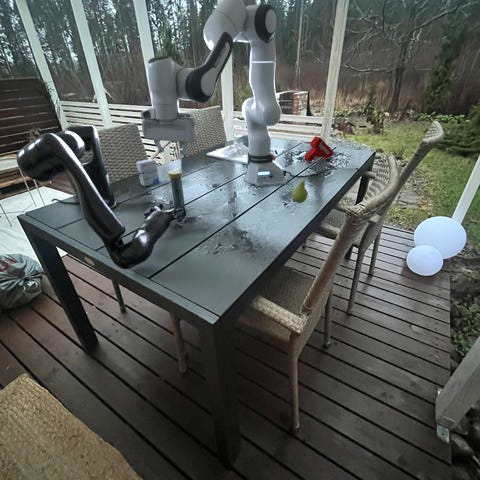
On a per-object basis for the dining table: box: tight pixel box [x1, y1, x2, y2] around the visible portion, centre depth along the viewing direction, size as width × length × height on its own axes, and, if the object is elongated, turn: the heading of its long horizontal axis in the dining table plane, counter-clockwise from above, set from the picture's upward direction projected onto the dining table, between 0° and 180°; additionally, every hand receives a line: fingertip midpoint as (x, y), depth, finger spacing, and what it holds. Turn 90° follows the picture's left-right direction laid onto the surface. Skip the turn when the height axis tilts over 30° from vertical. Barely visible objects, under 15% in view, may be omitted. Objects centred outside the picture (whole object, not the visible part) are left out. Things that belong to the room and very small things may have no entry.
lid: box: [167, 169, 183, 179], centre depth 105 cm, size 5×5×2 cm
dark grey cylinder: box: [169, 176, 186, 213], centre depth 110 cm, size 4×4×17 cm
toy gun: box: [303, 135, 335, 164], centre depth 171 cm, size 18×4×15 cm
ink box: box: [135, 158, 160, 187], centre depth 139 cm, size 8×5×12 cm, turn 135°
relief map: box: [206, 141, 272, 165], centre depth 185 cm, size 27×35×5 cm
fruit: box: [291, 174, 311, 204], centre depth 118 cm, size 7×8×12 cm
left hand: (172, 205), depth 105 cm, fingers open, 8 cm apart
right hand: (172, 153), depth 101 cm, fingers open, 8 cm apart
